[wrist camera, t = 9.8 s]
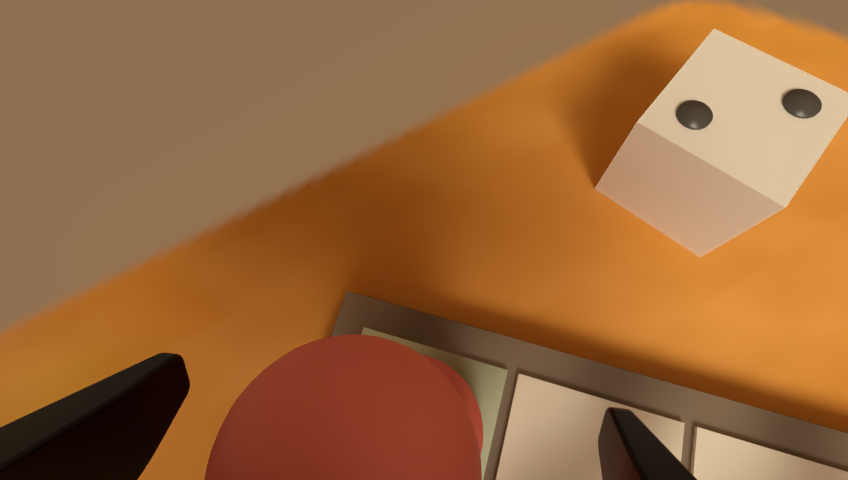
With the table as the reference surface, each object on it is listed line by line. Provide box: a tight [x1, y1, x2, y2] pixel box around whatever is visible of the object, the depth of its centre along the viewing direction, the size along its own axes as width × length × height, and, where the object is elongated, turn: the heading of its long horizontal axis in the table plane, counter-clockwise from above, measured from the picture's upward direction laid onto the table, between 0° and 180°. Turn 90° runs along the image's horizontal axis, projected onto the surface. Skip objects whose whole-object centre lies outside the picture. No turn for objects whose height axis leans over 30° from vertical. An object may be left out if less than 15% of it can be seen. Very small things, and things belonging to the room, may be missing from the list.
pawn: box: [205, 334, 483, 480], centre depth 10 cm, size 5×5×11 cm
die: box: [594, 29, 848, 257], centre depth 16 cm, size 5×5×5 cm
